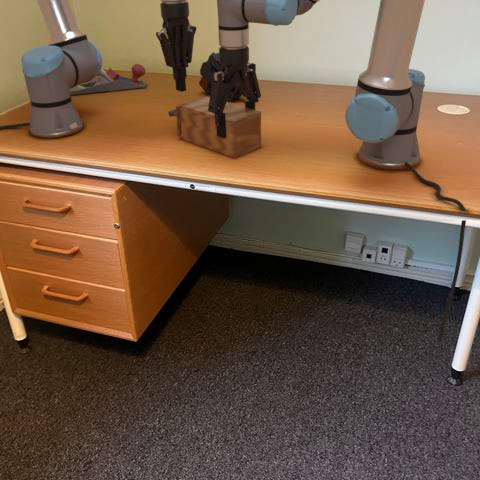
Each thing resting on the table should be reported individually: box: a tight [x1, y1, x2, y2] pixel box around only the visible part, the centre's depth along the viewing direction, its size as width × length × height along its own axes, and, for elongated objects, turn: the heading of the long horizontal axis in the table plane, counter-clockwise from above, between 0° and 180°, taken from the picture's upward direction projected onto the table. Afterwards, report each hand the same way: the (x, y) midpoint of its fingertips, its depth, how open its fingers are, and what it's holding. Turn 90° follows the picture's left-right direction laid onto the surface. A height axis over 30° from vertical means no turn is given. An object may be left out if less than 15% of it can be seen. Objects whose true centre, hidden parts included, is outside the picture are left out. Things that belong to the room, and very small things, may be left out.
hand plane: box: [70, 63, 146, 96], centre depth 194 cm, size 7×31×15 cm, turn 107°
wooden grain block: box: [178, 96, 262, 159], centre depth 148 cm, size 21×10×10 cm, turn 47°
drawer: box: [167, 104, 181, 135], centre depth 151 cm, size 26×9×8 cm, turn 47°
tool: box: [198, 52, 246, 102], centre depth 185 cm, size 6×19×15 cm, turn 51°
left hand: (181, 90), depth 153 cm, fingers closed
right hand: (236, 130), depth 144 cm, fingers closed on wooden grain block, 10 cm apart
